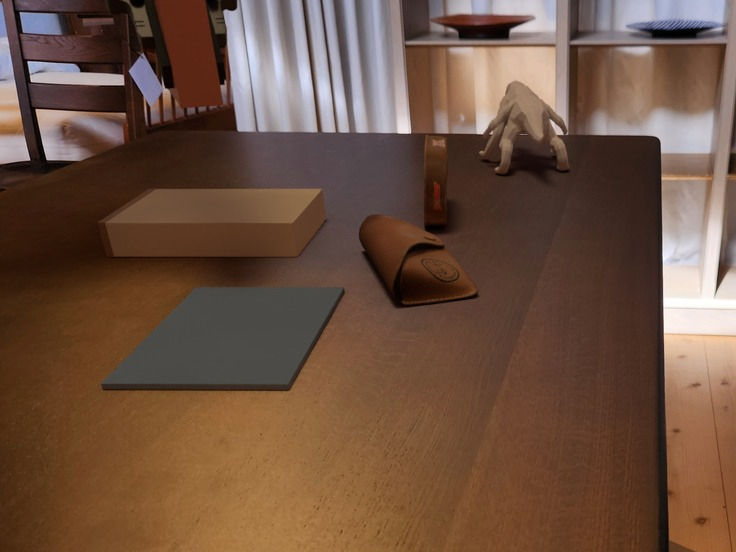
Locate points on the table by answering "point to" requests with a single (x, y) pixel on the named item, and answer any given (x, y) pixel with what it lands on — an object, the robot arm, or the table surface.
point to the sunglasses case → (414, 262)
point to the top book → (190, 52)
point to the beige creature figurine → (524, 125)
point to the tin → (435, 180)
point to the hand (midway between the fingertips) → (194, 75)
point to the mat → (230, 340)
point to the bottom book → (214, 223)
